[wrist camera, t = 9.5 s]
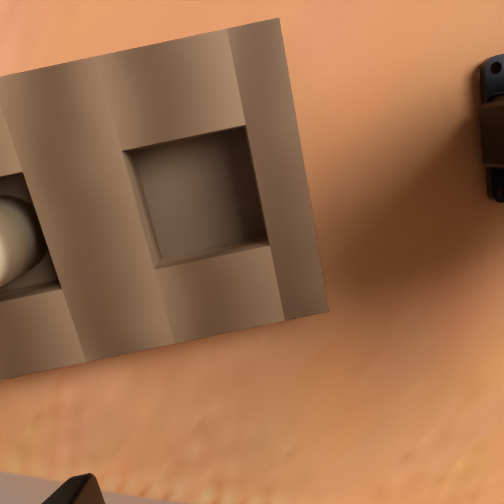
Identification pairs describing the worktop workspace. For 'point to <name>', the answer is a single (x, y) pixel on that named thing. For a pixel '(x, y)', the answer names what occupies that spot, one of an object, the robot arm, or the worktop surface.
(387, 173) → the worktop surface
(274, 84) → the bore block
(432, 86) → the worktop surface
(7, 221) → the pin
